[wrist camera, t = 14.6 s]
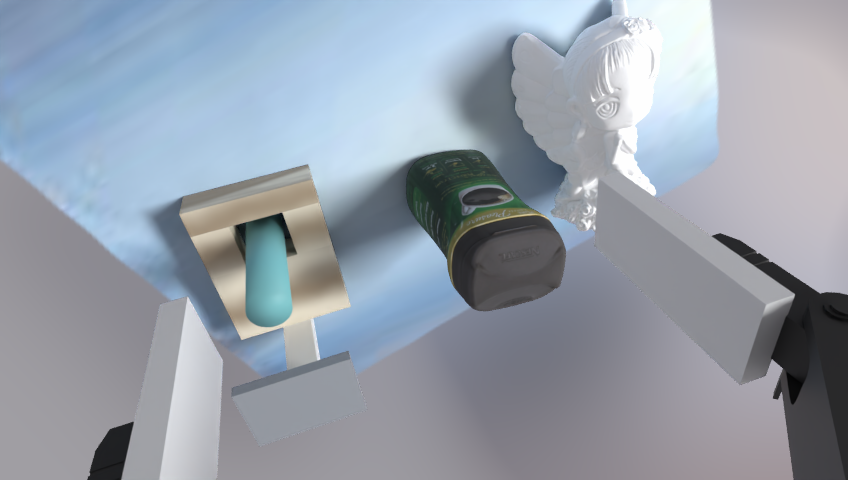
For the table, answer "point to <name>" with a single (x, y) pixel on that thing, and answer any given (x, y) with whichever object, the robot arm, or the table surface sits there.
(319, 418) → the light grey angular piece
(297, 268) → the socket block
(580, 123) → the cherub figurine
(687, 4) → the table surface
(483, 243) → the coffee jar
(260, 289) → the peg
